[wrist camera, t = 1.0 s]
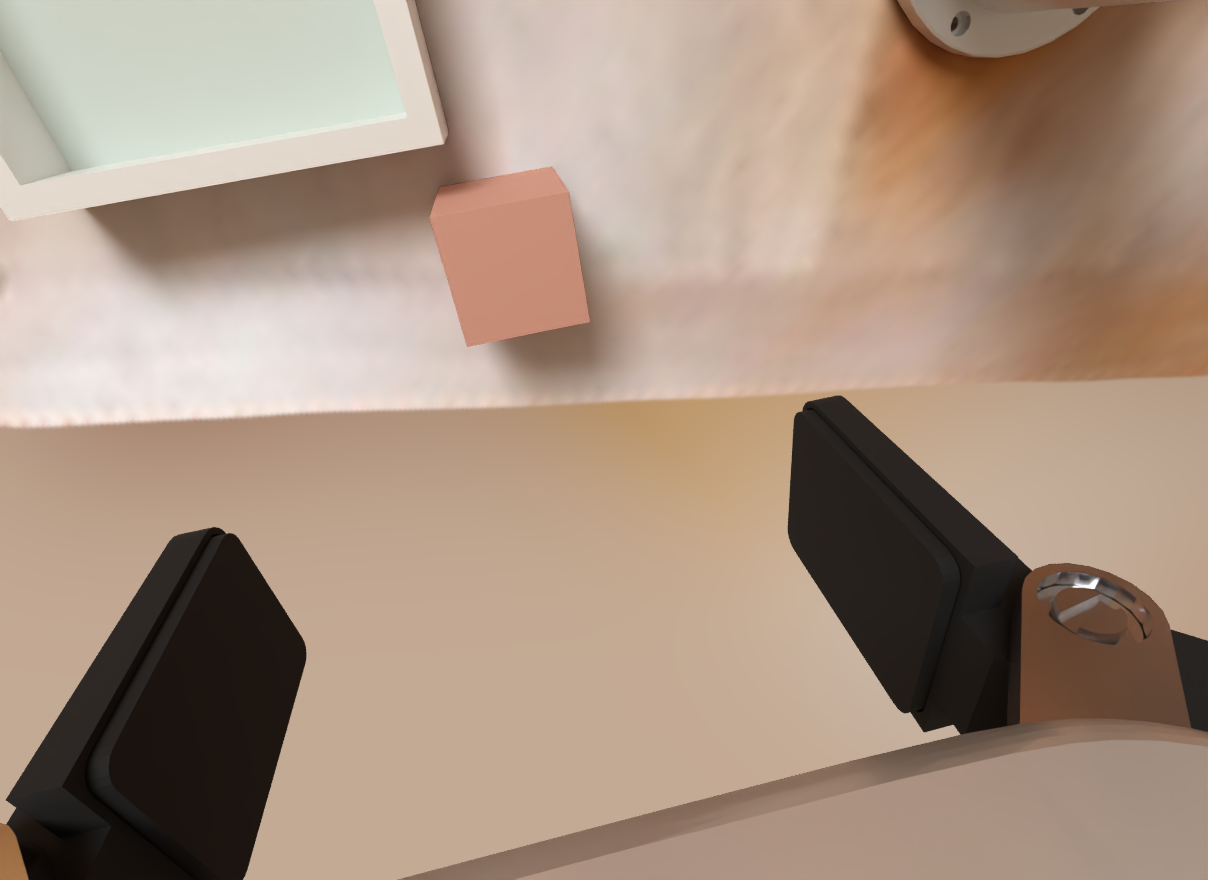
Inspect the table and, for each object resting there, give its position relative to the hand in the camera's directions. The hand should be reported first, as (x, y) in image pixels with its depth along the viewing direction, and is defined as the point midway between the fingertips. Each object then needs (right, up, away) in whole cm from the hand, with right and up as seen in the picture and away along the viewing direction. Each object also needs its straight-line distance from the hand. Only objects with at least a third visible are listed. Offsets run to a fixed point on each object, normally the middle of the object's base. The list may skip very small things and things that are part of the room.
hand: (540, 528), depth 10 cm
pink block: (-3, +11, +17) cm, 21 cm away
